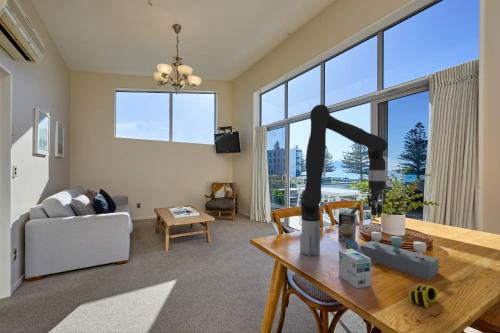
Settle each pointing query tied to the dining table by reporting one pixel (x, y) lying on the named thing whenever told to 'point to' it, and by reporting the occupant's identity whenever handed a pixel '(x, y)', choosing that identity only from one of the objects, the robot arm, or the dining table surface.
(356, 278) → the light bulb box
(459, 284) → the dining table surface
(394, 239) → the middle knob
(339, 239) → the coffee box
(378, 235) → the inner knob
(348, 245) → the label tape cartridge
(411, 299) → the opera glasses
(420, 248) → the outer knob
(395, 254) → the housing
